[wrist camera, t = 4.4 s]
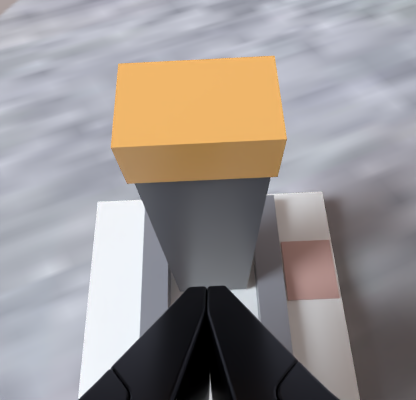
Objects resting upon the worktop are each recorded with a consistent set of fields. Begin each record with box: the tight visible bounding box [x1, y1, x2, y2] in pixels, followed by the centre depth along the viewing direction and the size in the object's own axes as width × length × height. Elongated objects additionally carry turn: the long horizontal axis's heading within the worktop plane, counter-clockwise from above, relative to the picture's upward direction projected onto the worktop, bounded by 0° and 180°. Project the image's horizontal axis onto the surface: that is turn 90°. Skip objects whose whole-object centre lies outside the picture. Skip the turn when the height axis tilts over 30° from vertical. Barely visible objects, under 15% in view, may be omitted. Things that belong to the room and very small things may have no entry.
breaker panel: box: [78, 192, 360, 400], centre depth 15 cm, size 12×10×2 cm
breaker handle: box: [111, 56, 287, 292], centre depth 11 cm, size 2×3×10 cm, turn 92°
